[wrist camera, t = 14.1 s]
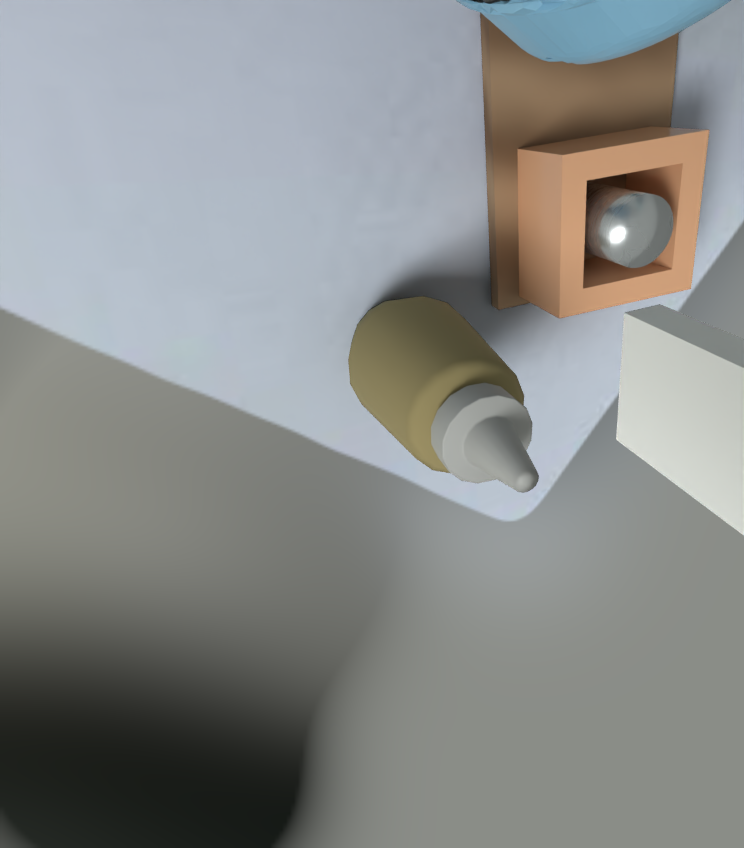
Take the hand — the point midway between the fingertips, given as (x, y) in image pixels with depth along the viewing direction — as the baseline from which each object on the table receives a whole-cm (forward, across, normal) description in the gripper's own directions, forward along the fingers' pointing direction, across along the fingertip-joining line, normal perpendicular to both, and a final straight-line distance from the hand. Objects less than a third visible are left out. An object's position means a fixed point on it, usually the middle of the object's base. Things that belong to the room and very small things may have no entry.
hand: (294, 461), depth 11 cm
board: (+29, +23, 0) cm, 37 cm away
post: (+29, +23, -4) cm, 37 cm away
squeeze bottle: (+29, +10, -10) cm, 32 cm away
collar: (+28, +23, -4) cm, 36 cm away
